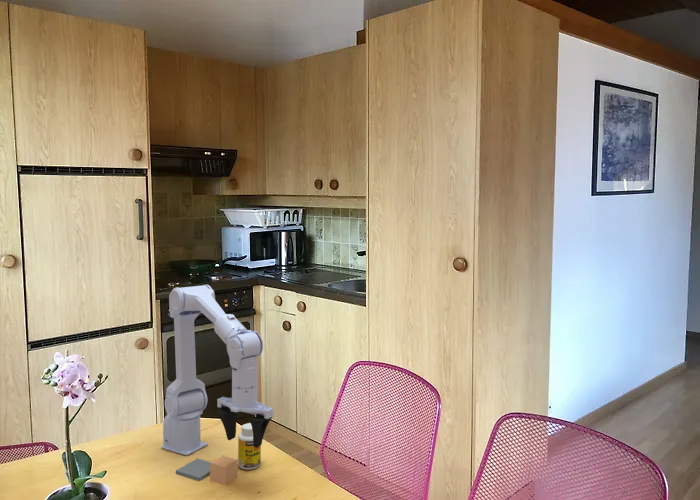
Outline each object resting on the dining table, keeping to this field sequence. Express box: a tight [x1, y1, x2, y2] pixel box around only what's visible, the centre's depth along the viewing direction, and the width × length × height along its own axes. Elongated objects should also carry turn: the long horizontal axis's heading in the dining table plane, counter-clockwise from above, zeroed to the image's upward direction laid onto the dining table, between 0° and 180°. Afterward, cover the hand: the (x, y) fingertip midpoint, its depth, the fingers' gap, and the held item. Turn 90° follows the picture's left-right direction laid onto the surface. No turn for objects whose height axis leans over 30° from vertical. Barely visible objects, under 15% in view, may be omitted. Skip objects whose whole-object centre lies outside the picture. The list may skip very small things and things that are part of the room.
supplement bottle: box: [237, 422, 262, 471], centre depth 143 cm, size 6×6×10 cm
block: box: [209, 455, 239, 486], centre depth 136 cm, size 4×4×4 cm
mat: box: [175, 457, 211, 482], centre depth 140 cm, size 8×8×1 cm
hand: (244, 442), depth 133 cm, fingers open, 7 cm apart
